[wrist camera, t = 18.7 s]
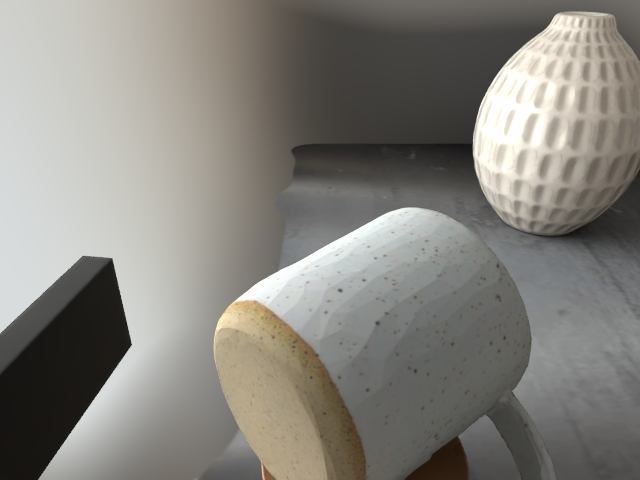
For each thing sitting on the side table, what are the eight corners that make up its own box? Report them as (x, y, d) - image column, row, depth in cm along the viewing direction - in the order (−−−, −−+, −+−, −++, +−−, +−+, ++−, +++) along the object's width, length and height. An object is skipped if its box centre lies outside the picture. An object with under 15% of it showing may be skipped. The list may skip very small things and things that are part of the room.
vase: (651, 234, 43) (731, 18, 35) (542, 272, 37) (606, 28, 29) (531, 181, 53) (571, 4, 44) (432, 205, 47) (457, 9, 39)
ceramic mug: (208, 426, 19) (184, 248, 15) (362, 331, 24) (374, 177, 20) (444, 701, 12) (510, 505, 8) (593, 490, 17) (679, 303, 13)
